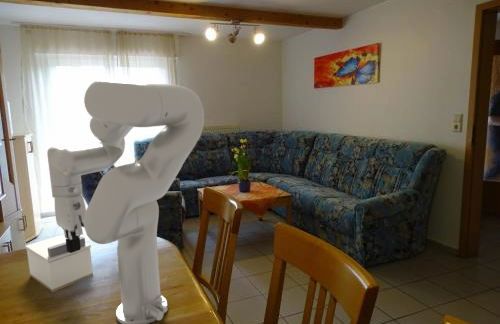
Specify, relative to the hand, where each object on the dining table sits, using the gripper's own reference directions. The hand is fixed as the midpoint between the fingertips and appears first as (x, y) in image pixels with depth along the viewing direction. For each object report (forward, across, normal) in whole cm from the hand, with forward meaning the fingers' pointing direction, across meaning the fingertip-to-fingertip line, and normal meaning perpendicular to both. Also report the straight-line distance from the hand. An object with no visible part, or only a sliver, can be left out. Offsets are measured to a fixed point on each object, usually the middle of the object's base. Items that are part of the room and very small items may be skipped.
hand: (74, 250), depth 98 cm
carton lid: (+2, +11, 0) cm, 11 cm away
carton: (+11, +11, 0) cm, 16 cm away
